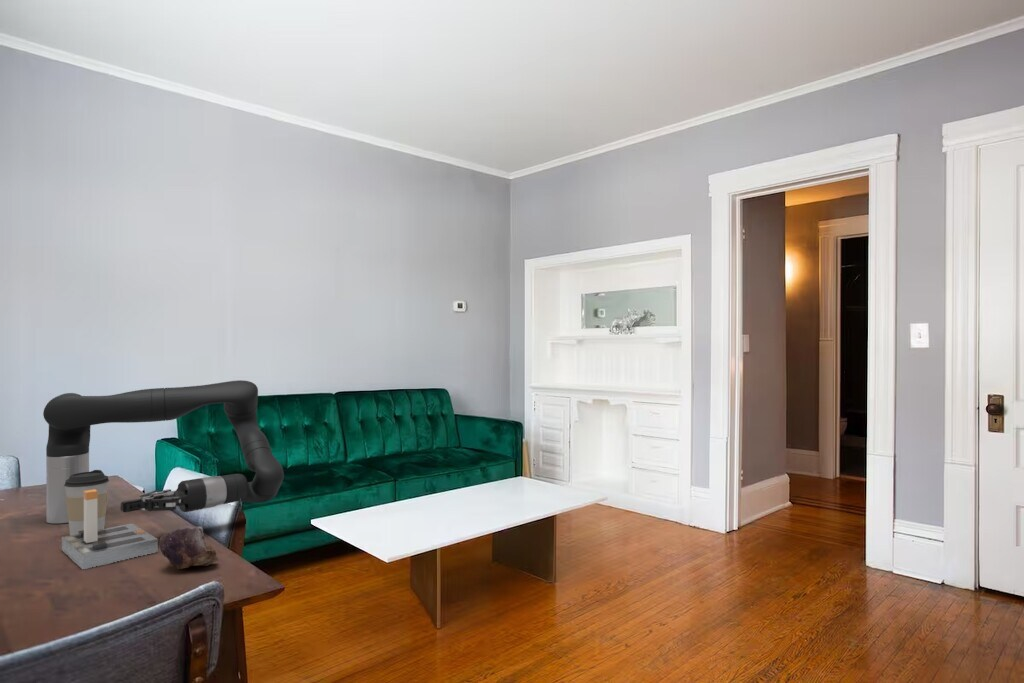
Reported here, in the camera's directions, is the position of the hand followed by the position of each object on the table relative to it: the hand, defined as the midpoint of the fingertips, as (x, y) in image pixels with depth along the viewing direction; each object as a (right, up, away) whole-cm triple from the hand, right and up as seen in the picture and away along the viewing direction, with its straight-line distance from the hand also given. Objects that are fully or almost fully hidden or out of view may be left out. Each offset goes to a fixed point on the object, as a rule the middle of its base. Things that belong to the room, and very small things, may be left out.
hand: (121, 507), depth 139 cm
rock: (+20, -10, -11) cm, 25 cm away
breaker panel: (-2, -10, -1) cm, 10 cm away
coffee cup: (-16, -10, +12) cm, 22 cm away
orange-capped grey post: (-4, -6, -4) cm, 9 cm away
